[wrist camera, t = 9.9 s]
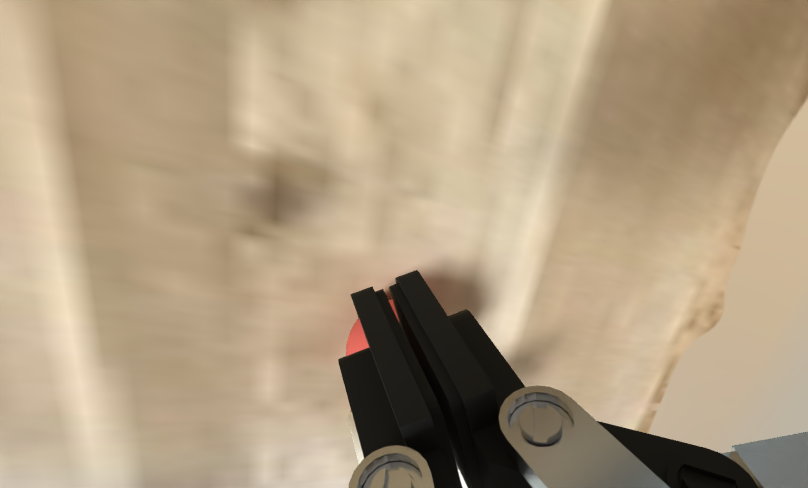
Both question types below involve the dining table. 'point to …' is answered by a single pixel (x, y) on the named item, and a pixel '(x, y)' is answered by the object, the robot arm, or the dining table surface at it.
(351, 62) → the dining table surface
